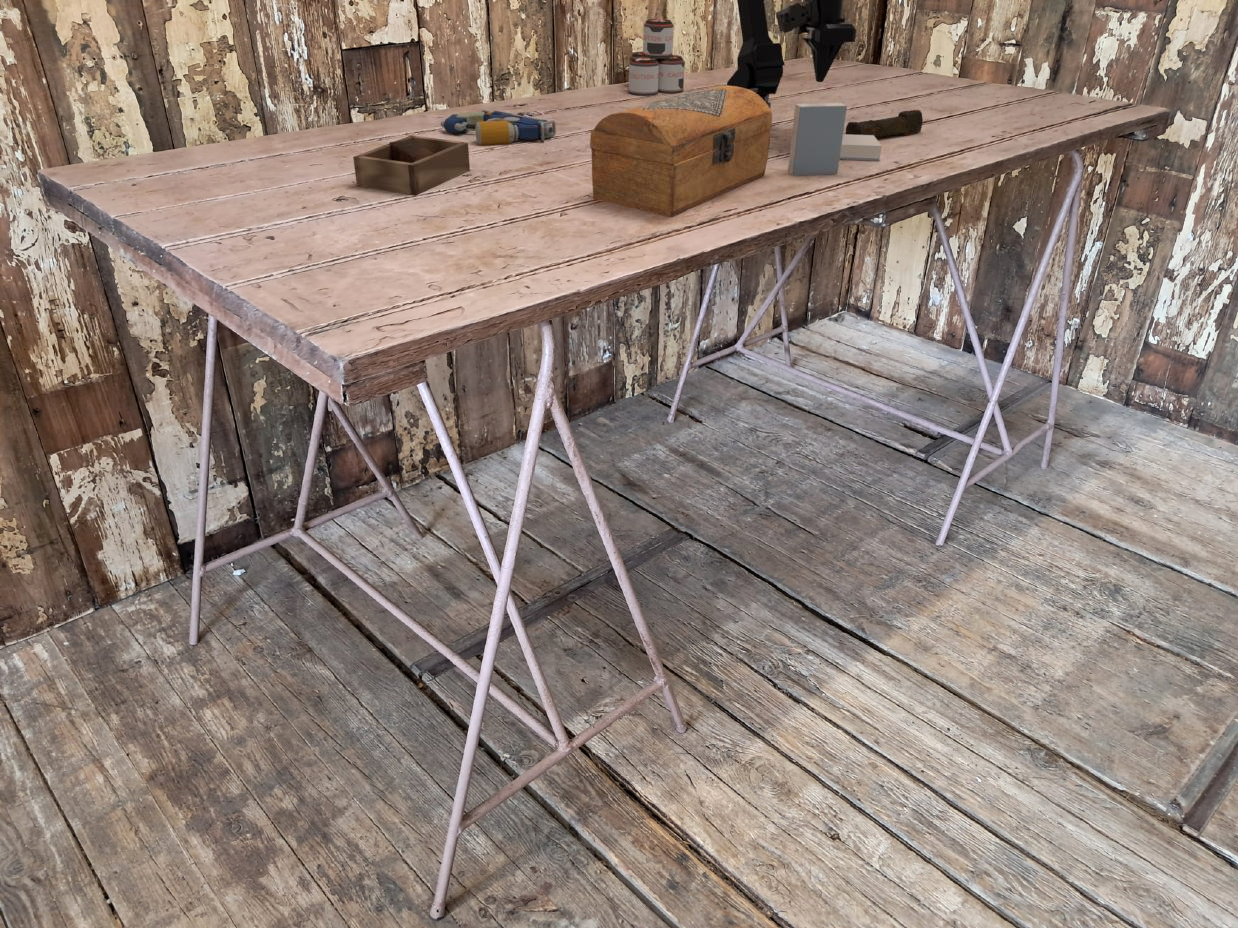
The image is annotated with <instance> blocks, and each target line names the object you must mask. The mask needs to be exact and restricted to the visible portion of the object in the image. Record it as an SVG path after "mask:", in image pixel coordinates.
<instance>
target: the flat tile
mask: <svg viewBox="0 0 1238 928" xmlns="http://www.w3.org/2000/svg"><path fill="white" fill-rule="evenodd" d="M882 148H883V147H882V144H881V143H880V142H879V140H878V138H877V137H876V138H875V136H874V135H848V134H846V133H843V138H842V145H841V152H840V159H843V160H844V161H847V160H848V161H871V162H872V161H873V162H877V161H878V162H879V161H880V158H881V152H882ZM840 159H839V160H840ZM845 159H846V160H845Z"/></svg>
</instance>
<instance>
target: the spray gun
mask: <svg viewBox="0 0 1238 928" xmlns="http://www.w3.org/2000/svg"><path fill="white" fill-rule="evenodd" d="M556 125H557V123H556V121H555V120H546V119H541V118H537V117H531V116H526V115H521V114H514V113H510V112H506V111H505V112H504V111H499V110H493V111H491V110H488V109H487V110H486V109H483V110H481V111H472V112H471V111H470V112H460V113H452V114H450V116H448V117H447V118H446V119H444V120H442V121H440V126H441V128H444V130H445V132H448V133H453V134H459V133H469V132H474V131H475V140H476V143H477V145H479V146H493V145H509V144H512V143H513V142H514V140H515V141H517V140H518V139H521V140H537V139H541V141H542V142H544V141H545V139H547V138H551V137H555V136H556V133H557V132H556V131H557V130H556Z"/></svg>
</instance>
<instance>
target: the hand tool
mask: <svg viewBox="0 0 1238 928" xmlns="http://www.w3.org/2000/svg"><path fill="white" fill-rule="evenodd" d="M922 126H923V113H922V112H921V110H919V109H913V110H903V111H900V112H899V113H898V115H897V116H893V117H888V118H882V119H876V120H872V119H869V120H866V121H865V120H864V121H859V122H857V121H849V122H847V124H846V126H845V134H848V135H874V136H875V138H876V139H877V138H883V137H889V136H893V135H898V136H902V137H908V136H912V135H916V134H918V133H919V132H921V131H922Z"/></svg>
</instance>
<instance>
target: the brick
mask: <svg viewBox="0 0 1238 928" xmlns="http://www.w3.org/2000/svg"><path fill="white" fill-rule="evenodd" d="M388 144H389V145H391V154H392V160H393V161H400V162H407V163H413V162H416V161H418V160H421V159H423V158H425V157H428V156H430V155H433V154H434V153H433V152H431V151H429V150H427V149H425V148H424V147H421V146H420V145H418V144H417V143H415V142H413V141H411V140H402V141H397V140H395V141H390V142H389V143H388Z"/></svg>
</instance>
